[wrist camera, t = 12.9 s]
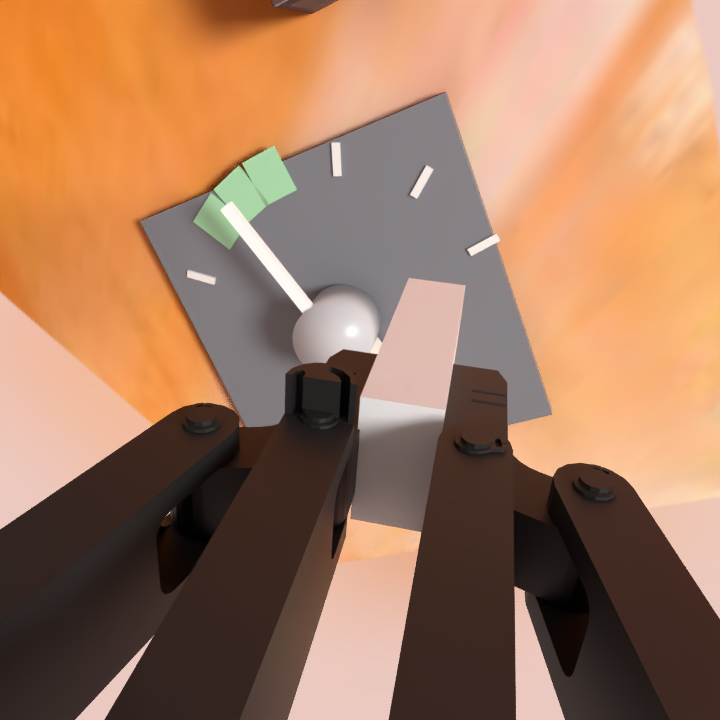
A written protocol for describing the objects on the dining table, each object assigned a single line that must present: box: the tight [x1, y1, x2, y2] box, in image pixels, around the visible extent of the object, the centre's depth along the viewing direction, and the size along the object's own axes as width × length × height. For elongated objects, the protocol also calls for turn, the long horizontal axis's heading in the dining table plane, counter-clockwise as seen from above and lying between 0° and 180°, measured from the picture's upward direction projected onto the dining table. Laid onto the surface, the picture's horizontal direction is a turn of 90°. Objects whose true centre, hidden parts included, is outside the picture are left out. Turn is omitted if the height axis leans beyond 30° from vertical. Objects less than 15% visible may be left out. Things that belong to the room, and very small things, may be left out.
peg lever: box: [220, 201, 382, 364], centre depth 43 cm, size 21×5×4 cm, turn 38°
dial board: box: [140, 92, 552, 427], centre depth 45 cm, size 23×22×1 cm
